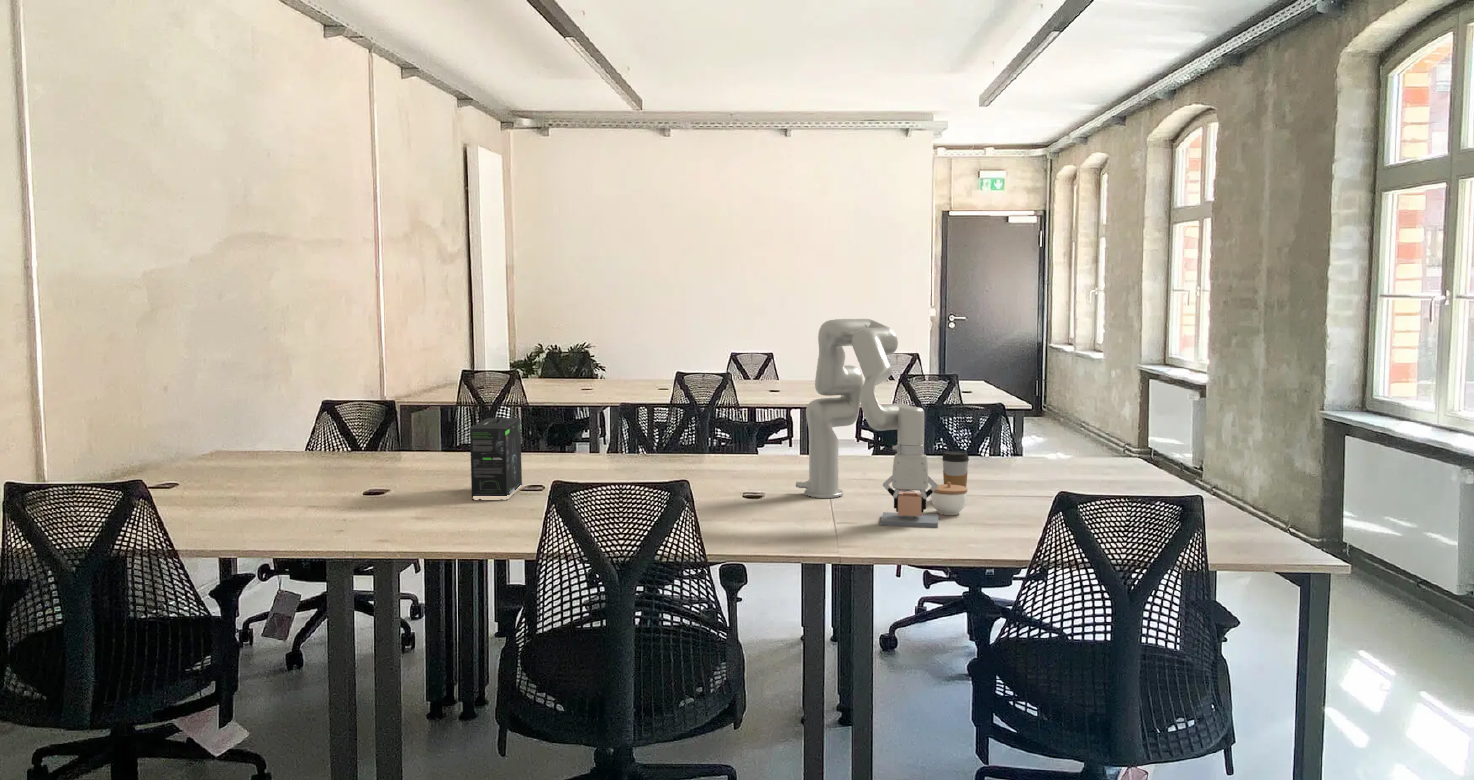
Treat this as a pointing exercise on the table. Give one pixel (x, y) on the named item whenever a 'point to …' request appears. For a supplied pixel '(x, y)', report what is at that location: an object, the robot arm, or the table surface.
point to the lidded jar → (949, 498)
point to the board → (909, 520)
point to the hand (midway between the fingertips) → (909, 510)
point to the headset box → (495, 457)
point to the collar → (909, 504)
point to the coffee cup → (955, 467)
